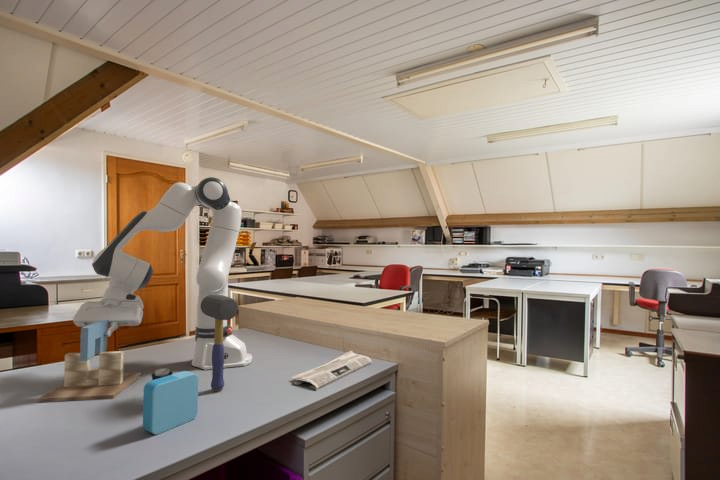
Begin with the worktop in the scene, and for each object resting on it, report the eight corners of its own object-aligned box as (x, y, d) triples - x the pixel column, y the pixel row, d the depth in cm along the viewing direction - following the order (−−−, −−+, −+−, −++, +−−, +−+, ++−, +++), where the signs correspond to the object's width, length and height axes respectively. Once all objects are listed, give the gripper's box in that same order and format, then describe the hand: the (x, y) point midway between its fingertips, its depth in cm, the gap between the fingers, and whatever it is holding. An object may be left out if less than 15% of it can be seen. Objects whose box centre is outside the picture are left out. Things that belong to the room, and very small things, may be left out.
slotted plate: (100, 350, 124) (101, 320, 125) (106, 350, 125) (107, 320, 125) (79, 361, 113) (81, 327, 113) (87, 360, 113) (88, 327, 113)
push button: (176, 407, 105) (177, 371, 105) (155, 412, 101) (156, 375, 101) (168, 400, 110) (168, 366, 110) (148, 405, 106) (148, 370, 106)
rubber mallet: (238, 392, 116) (240, 295, 117) (216, 399, 111) (217, 298, 111) (218, 382, 124) (220, 292, 125) (196, 388, 119) (198, 294, 119)
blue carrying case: (188, 413, 101) (188, 369, 101) (198, 418, 98) (198, 372, 99) (142, 431, 91) (143, 382, 91) (152, 437, 88) (153, 386, 89)
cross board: (140, 375, 130) (141, 343, 130) (113, 398, 110) (114, 361, 111) (76, 378, 127) (77, 345, 127) (37, 402, 107) (38, 364, 107)
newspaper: (316, 392, 118) (316, 380, 118) (287, 383, 125) (288, 373, 125) (373, 363, 148) (373, 354, 148) (348, 358, 155) (348, 349, 155)
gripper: (80, 296, 128) (61, 330, 119) (144, 296, 132) (131, 329, 122) (86, 307, 133) (69, 341, 123) (148, 306, 136) (136, 340, 127)
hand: (100, 335), depth 123 cm, fingers closed on slotted plate, 2 cm apart
